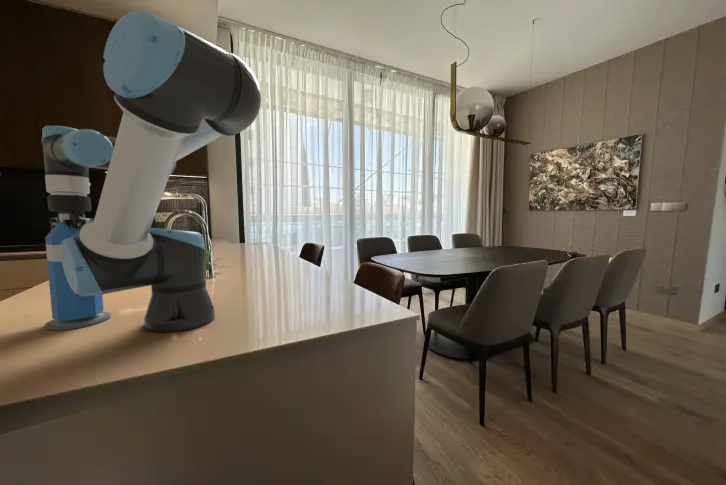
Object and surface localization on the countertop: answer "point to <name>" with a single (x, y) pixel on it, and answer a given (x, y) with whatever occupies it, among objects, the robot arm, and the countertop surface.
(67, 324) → the coaster
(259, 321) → the countertop surface
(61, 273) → the water bottle
